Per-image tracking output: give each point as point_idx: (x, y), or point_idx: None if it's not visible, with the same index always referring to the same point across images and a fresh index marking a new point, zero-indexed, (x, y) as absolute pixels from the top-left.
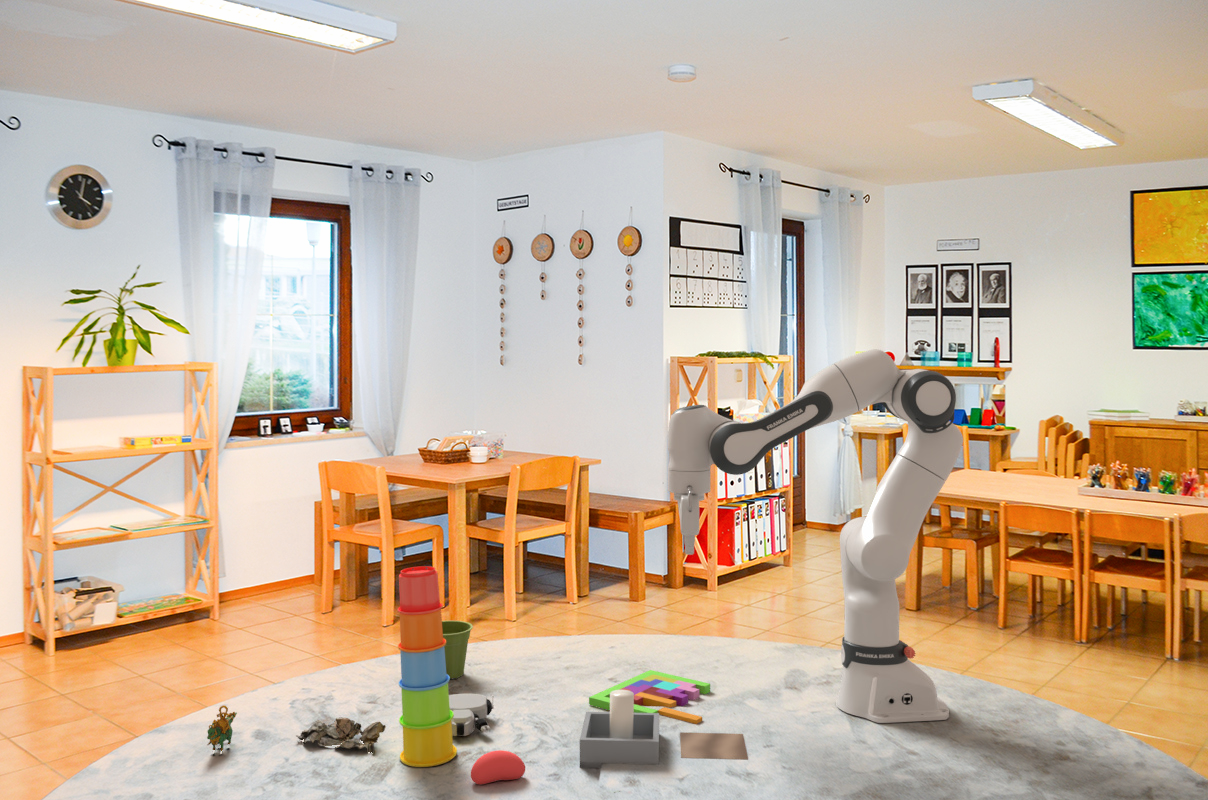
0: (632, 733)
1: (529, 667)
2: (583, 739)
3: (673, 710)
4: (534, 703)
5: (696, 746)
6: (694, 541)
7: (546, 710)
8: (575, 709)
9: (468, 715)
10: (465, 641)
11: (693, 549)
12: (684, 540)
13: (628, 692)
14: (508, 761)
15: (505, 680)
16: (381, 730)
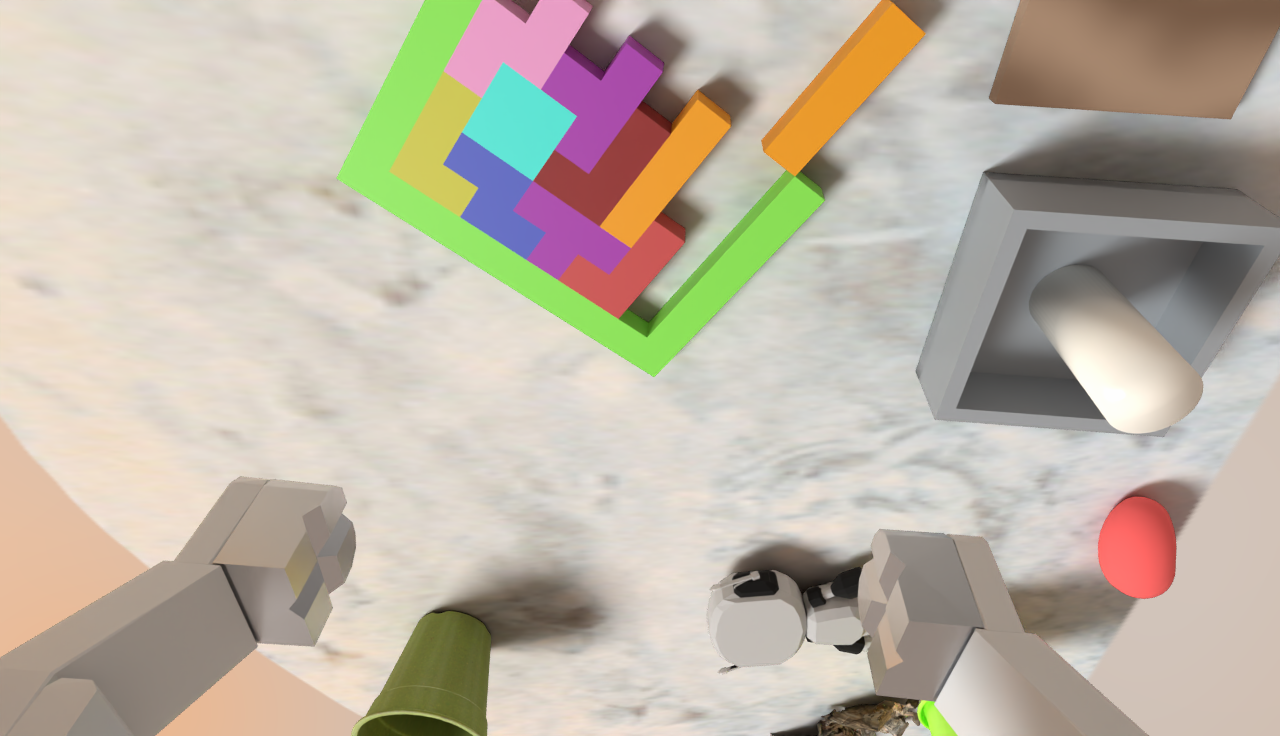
0: (1116, 292)
1: (347, 496)
2: (1167, 428)
3: (803, 118)
4: (641, 480)
5: (1153, 52)
6: (1123, 713)
7: (695, 456)
8: (689, 394)
9: (851, 620)
10: (444, 690)
11: (1001, 587)
12: (331, 609)
13: (1147, 379)
14: (1175, 551)
15: (468, 538)
16: (884, 714)
